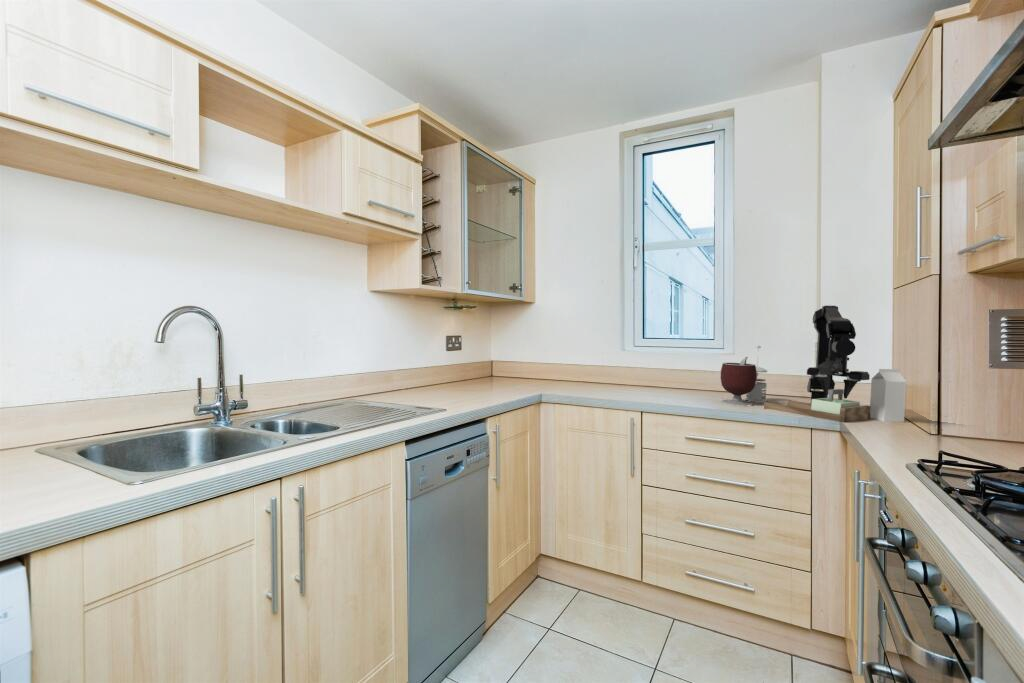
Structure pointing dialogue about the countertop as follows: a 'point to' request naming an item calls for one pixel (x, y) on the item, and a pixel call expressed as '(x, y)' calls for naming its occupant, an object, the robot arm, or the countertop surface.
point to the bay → (805, 409)
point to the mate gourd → (738, 380)
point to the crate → (833, 402)
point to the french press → (758, 387)
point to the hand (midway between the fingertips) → (835, 397)
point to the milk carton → (888, 396)
